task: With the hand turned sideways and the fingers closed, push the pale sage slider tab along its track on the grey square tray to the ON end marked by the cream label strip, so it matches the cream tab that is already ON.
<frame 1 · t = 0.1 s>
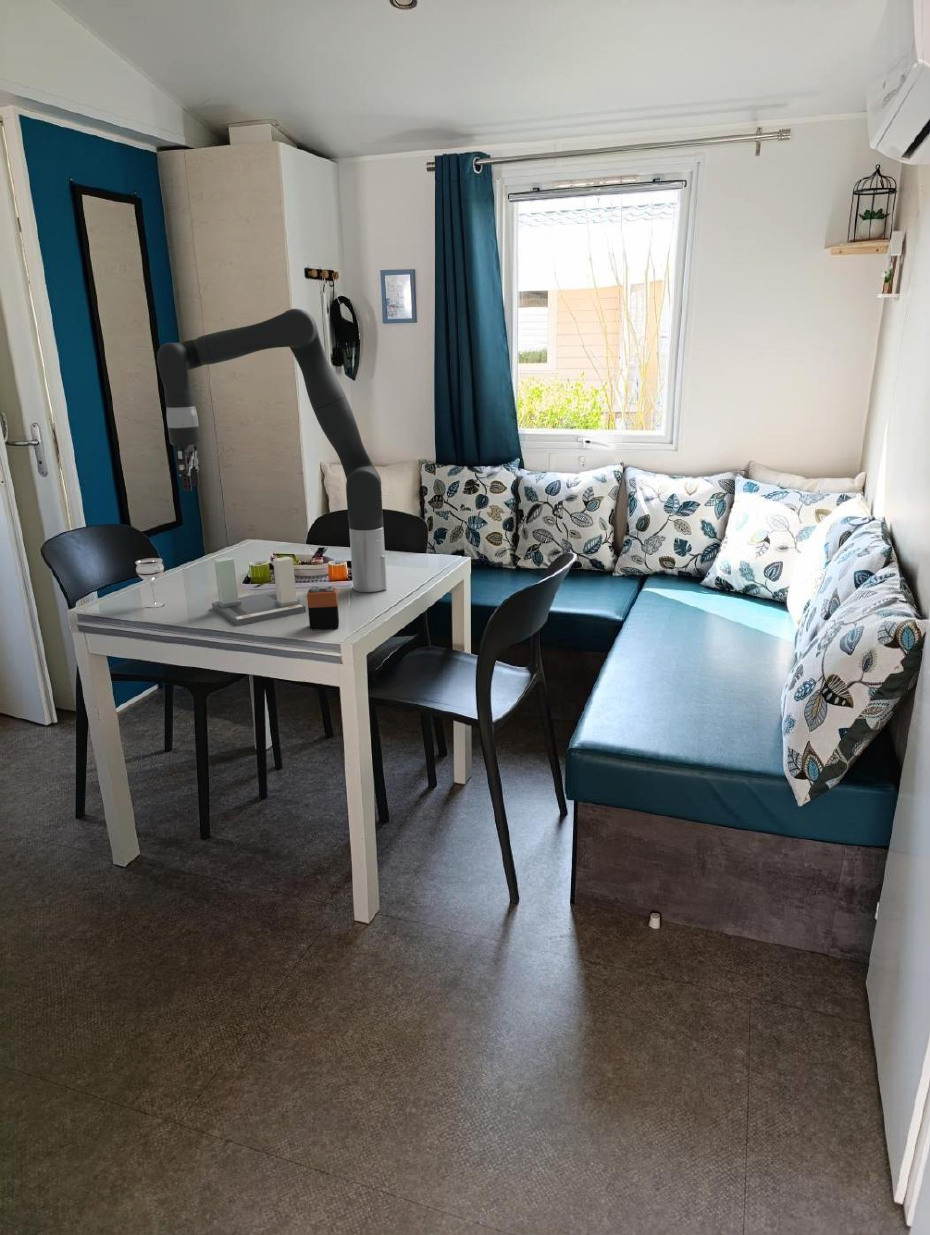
hand: (191, 488, 215), 29 cm above the table, tool pointing down, fingers open, 8 cm apart
cream tab: (285, 581, 207), point 7 cm above the table, slide at 9.0 cm
sage tab: (226, 582, 208), point 7 cm above the table, slide at 0.0 cm
grey square tray: (258, 609, 210), on the table
battery: (324, 627, 196), on the table
wineglass: (155, 606, 216), on the table
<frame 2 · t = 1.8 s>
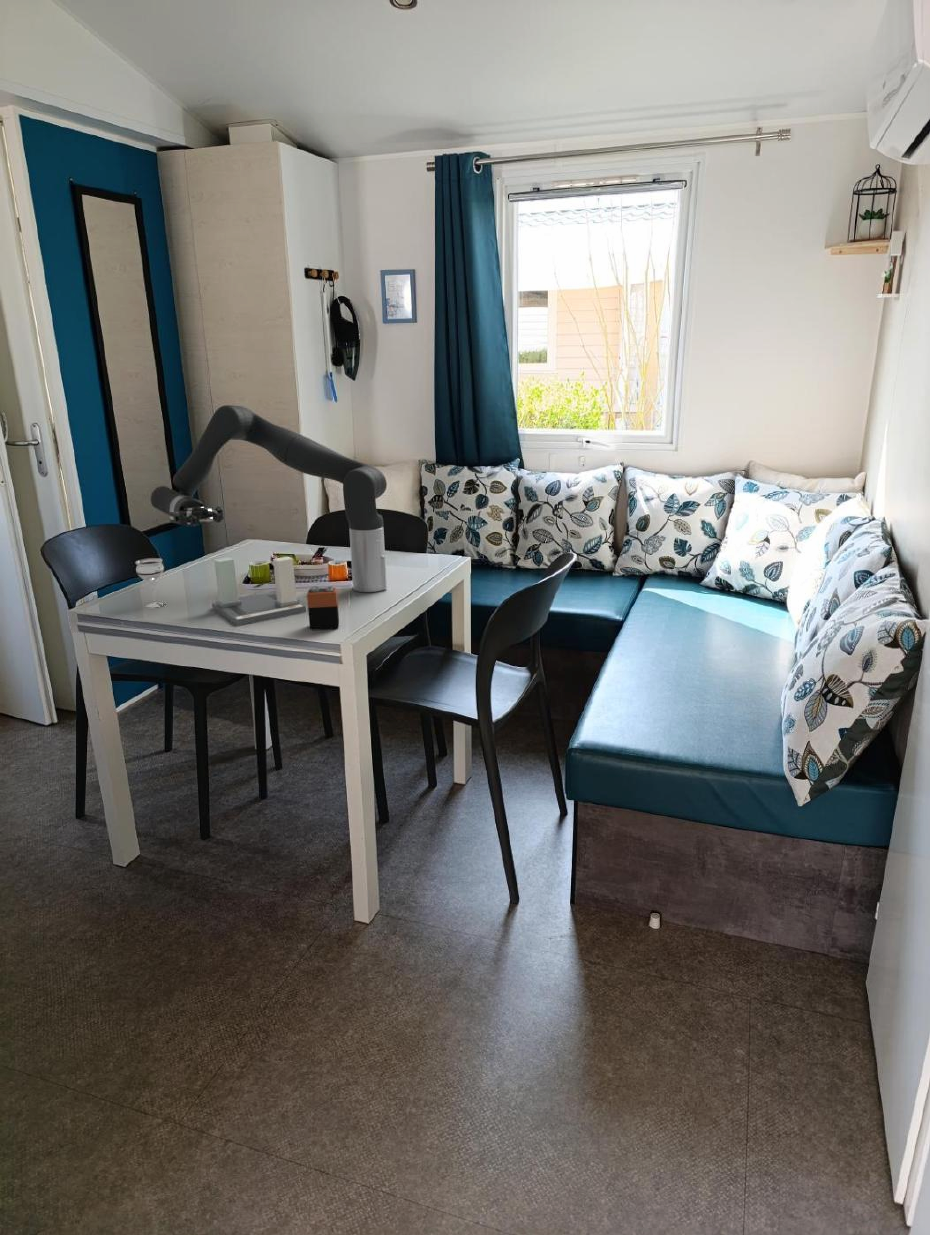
hand: (207, 519, 211), 22 cm above the table, tool horizontal, fingers open, 5 cm apart
nothing on the table moved.
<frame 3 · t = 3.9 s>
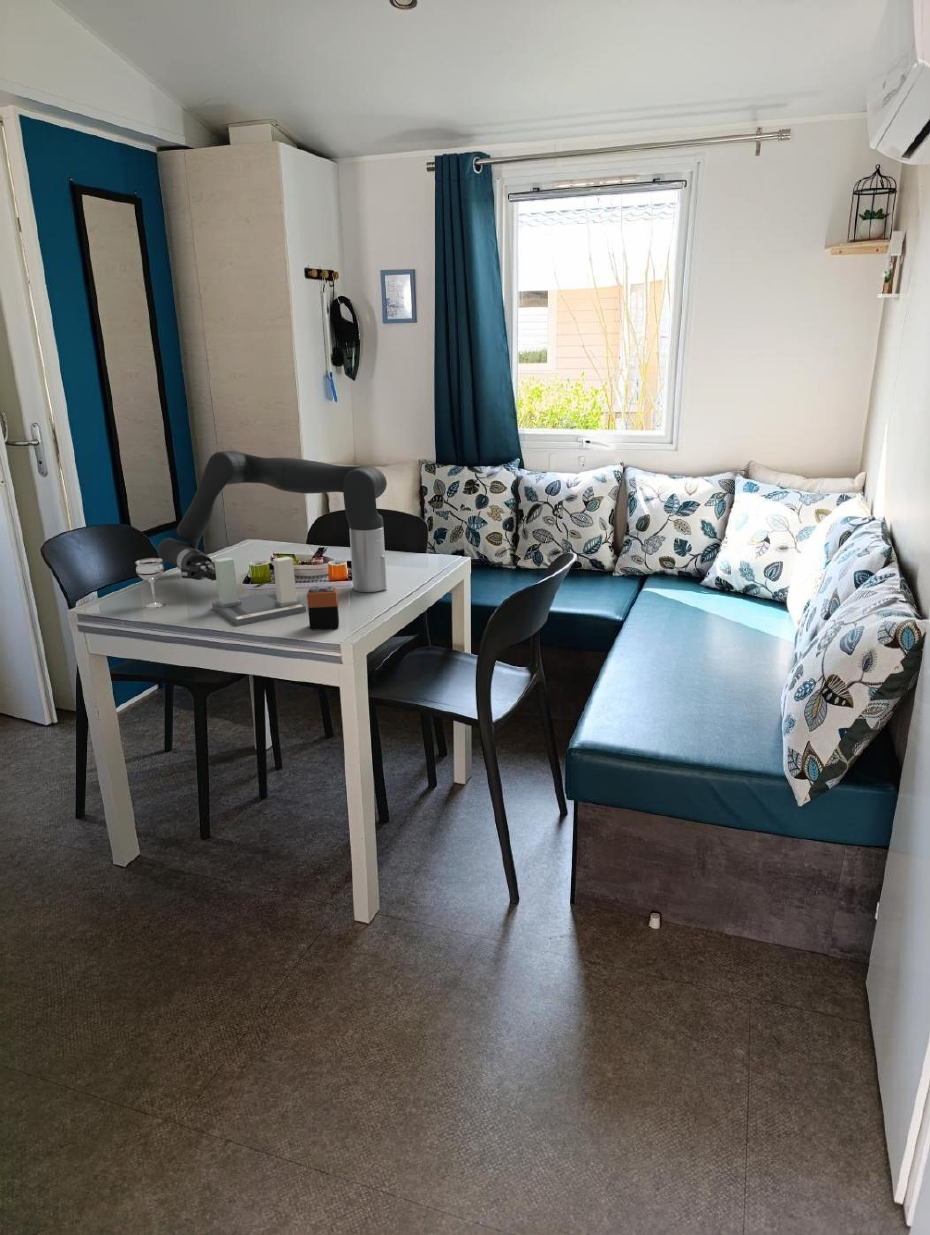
hand: (215, 576, 215), 7 cm above the table, tool horizontal, fingers closed
nothing on the table moved.
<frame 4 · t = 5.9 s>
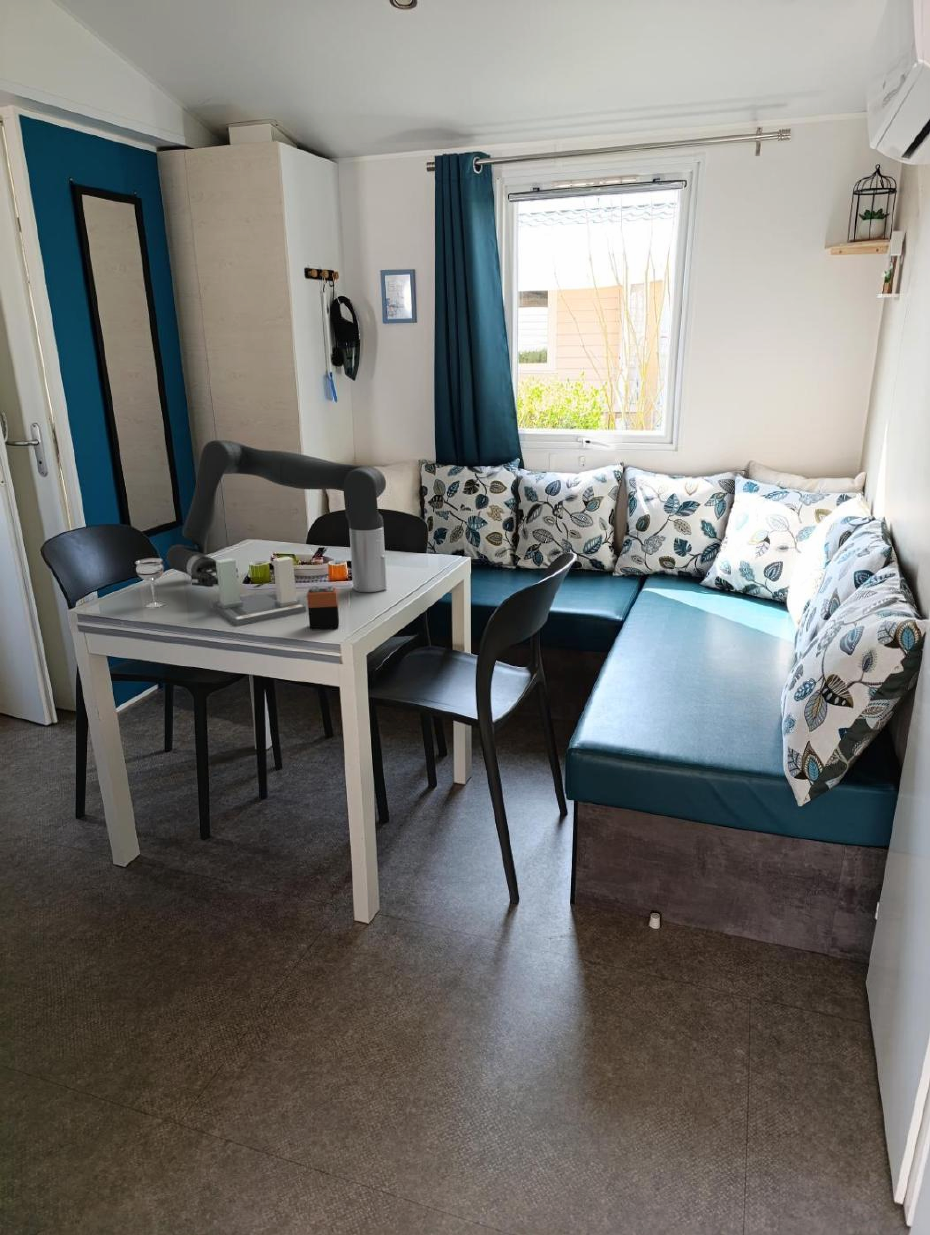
hand: (226, 583, 209), 7 cm above the table, tool horizontal, fingers closed
sage tab: (228, 583, 207), point 7 cm above the table, slide at 1.1 cm, touching gripper
everything else where it was.
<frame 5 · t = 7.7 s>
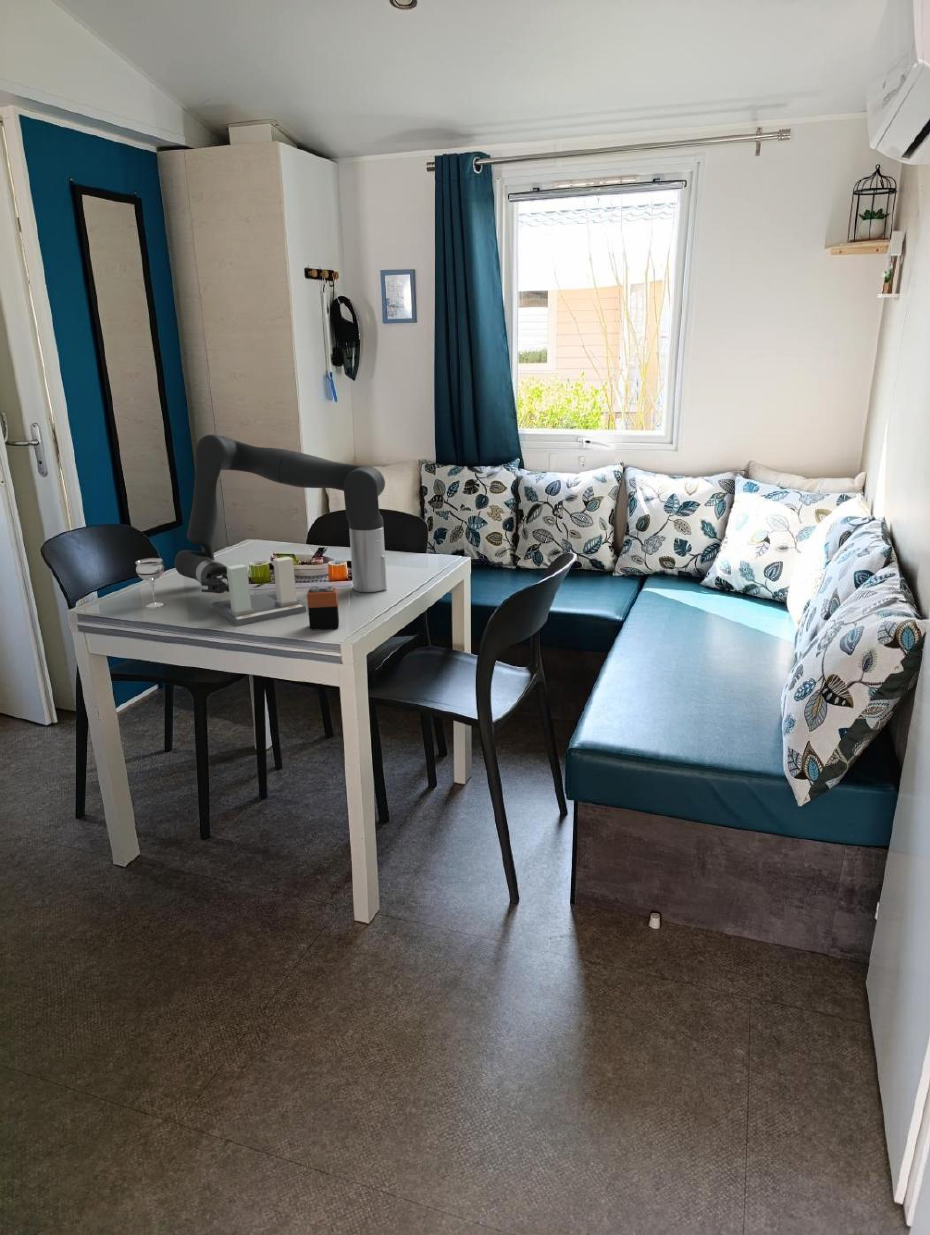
hand: (237, 590, 202), 7 cm above the table, tool horizontal, fingers closed
sage tab: (239, 589, 201), point 7 cm above the table, slide at 9.1 cm, touching gripper
everything else where it was.
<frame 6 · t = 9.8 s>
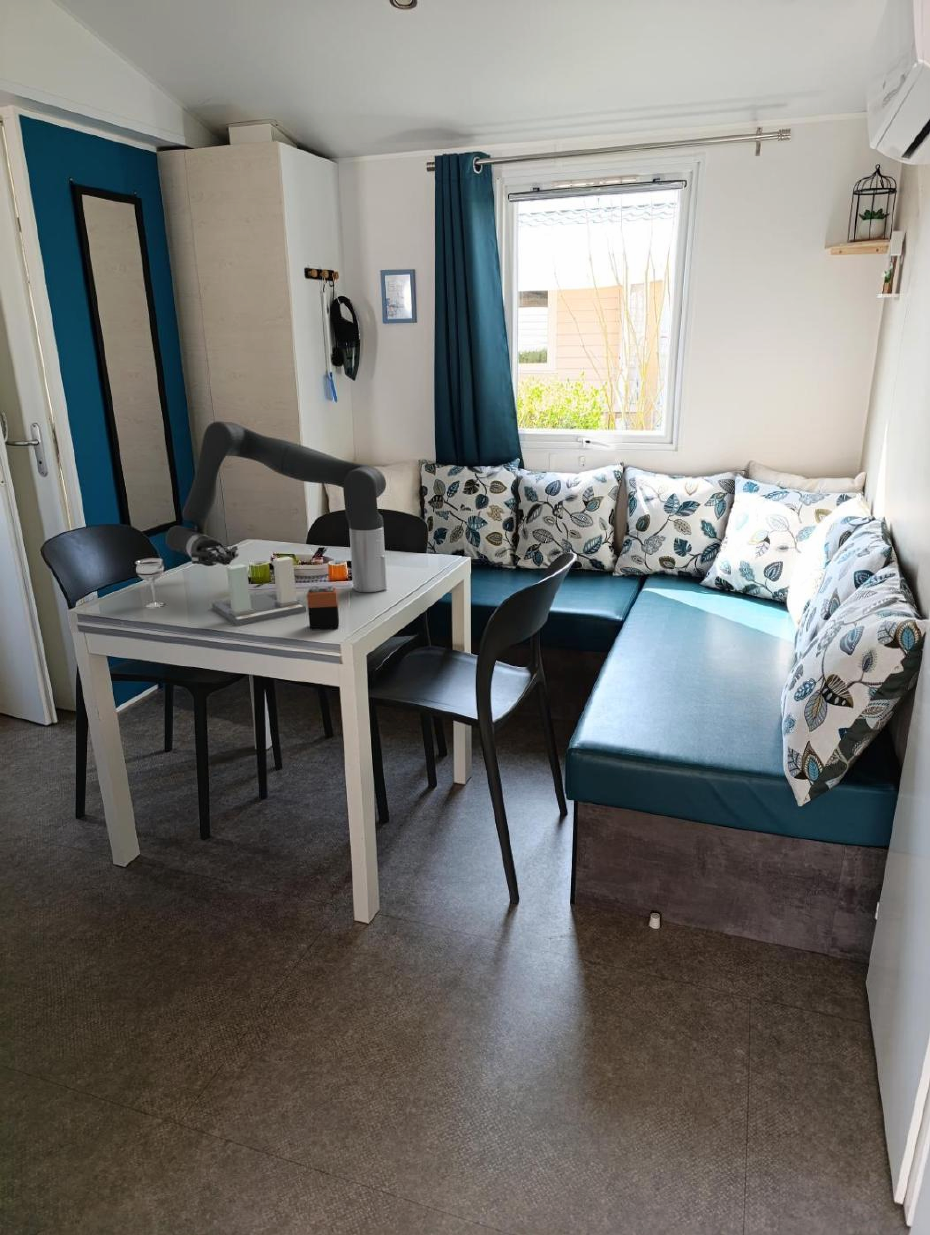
hand: (226, 560, 207), 13 cm above the table, tool horizontal, fingers closed
sage tab: (239, 589, 201), point 7 cm above the table, slide at 9.0 cm
everything else where it was.
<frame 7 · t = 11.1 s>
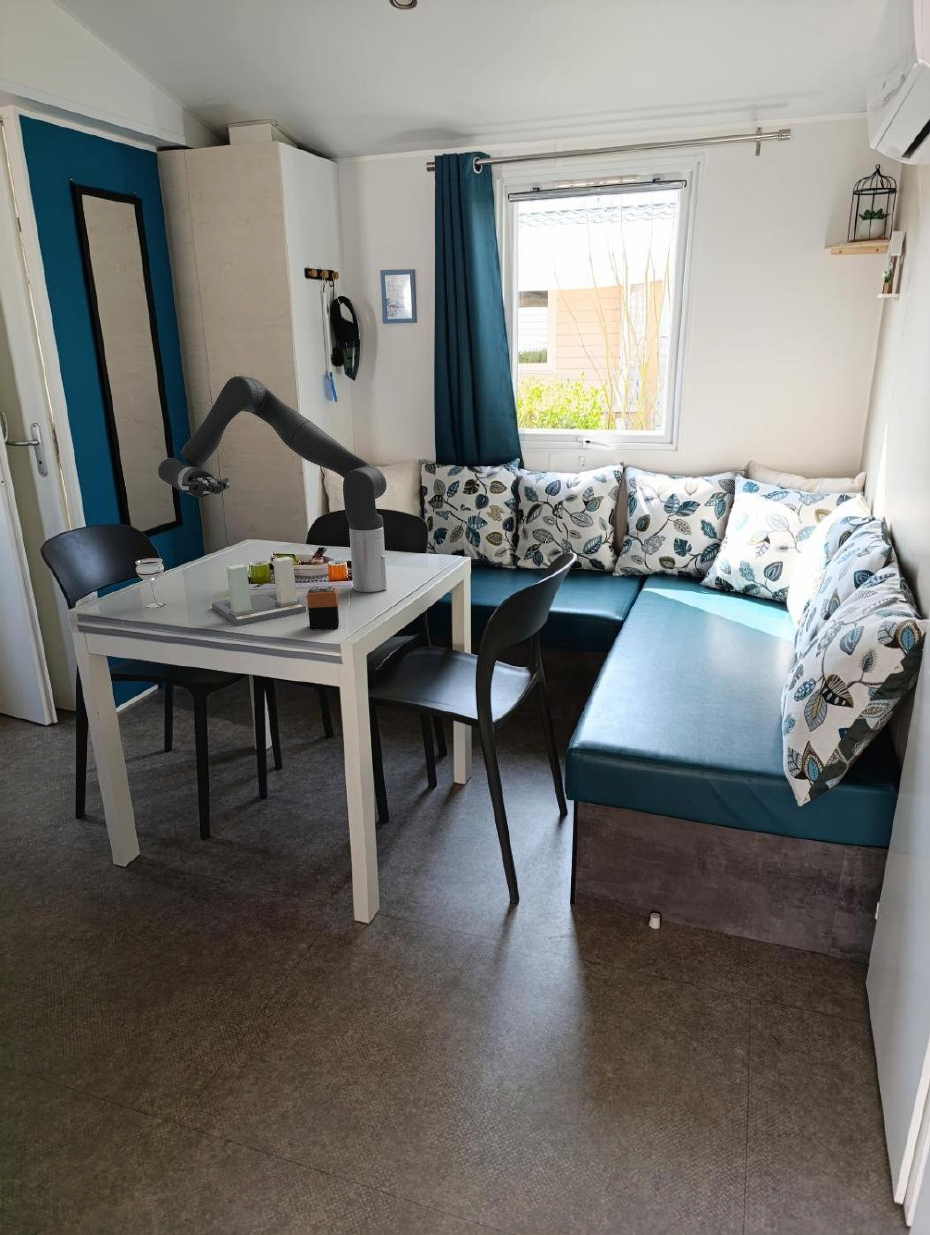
hand: (217, 489, 207), 30 cm above the table, tool horizontal, fingers closed
nothing on the table moved.
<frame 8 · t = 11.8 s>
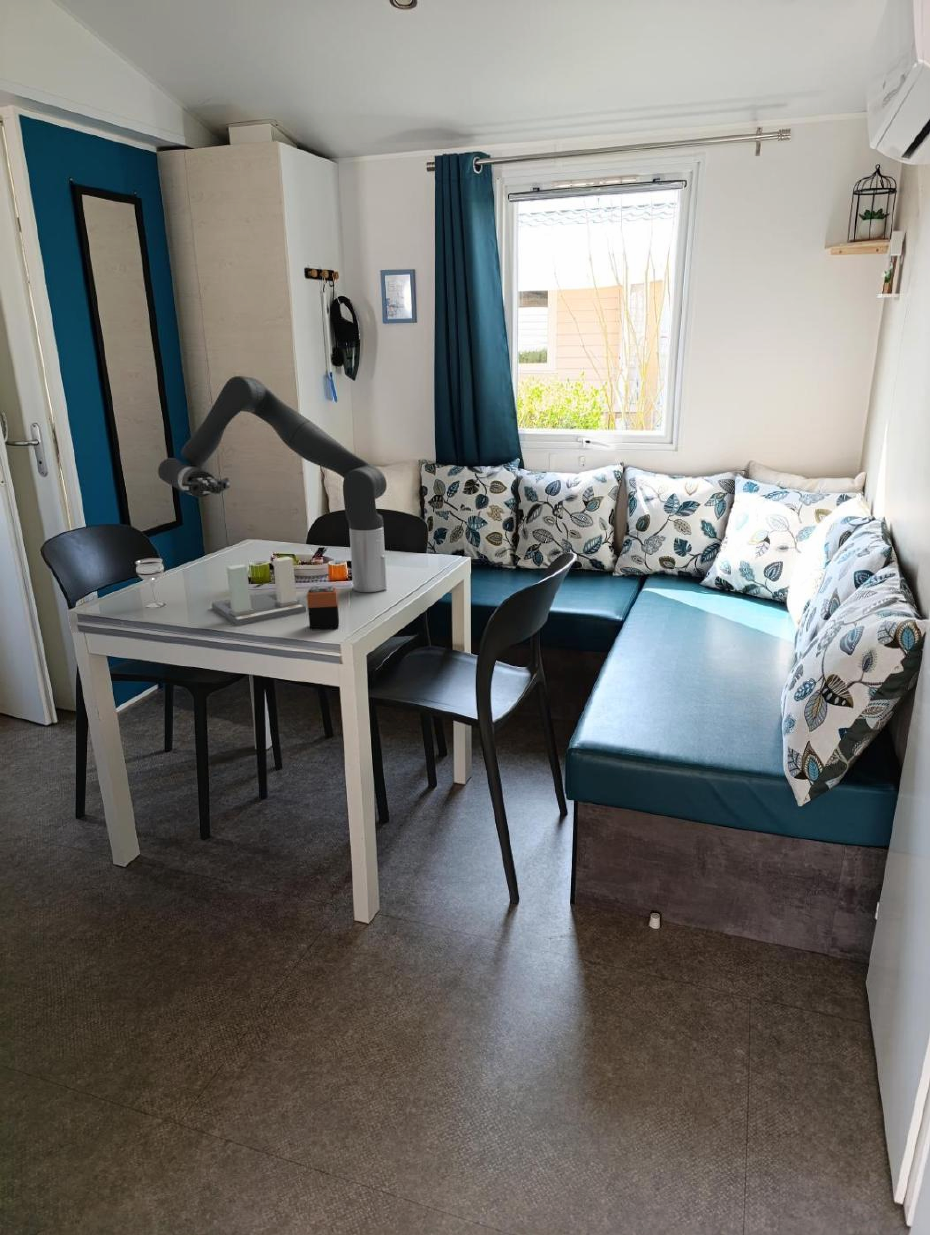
hand: (217, 489, 207), 30 cm above the table, tool horizontal, fingers closed
nothing on the table moved.
at the end: sage tab slide at 9.0 cm; cream tab slide at 9.0 cm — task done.
